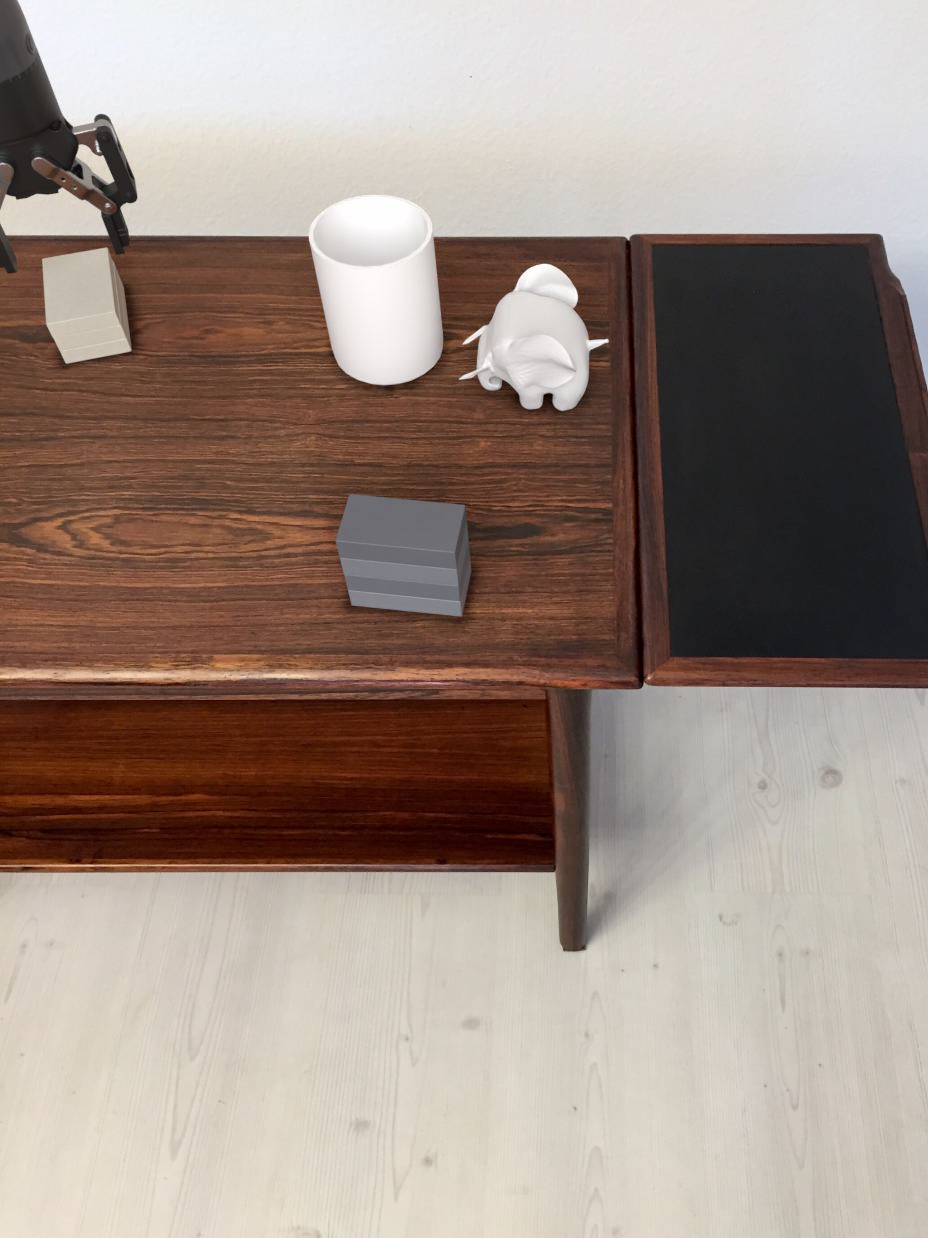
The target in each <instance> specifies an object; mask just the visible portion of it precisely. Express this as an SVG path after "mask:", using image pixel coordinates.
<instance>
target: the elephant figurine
mask: <svg viewBox="0 0 928 1238" xmlns="http://www.w3.org/2000/svg"><path fill="white" fill-rule="evenodd" d="M578 301H579V295H578V291H577V289H576V286H575V285H574V283H573V282H572V280H571V279H570V278H569V277H568V275H567V274H566V273H565V272H563V271H562V270H561V269H559V268H558V267H556V266H554V265H552V264H549V263H540V264H537V265H533V266H531V267H529V268H527V269H526V270H525V271H524V272H522V274H521V275H520V277H519V278H518V279H517V283H516V284H515V287H514V289H513V291H510V292H508V293H506V294H505V295H504V296H503V297H502V298H501V299H500V300H499V301H498V303H497V305H496V307H495V310H494V313H493V316H492V318H491V320H490V321H489V323H488V324H486V325H485V324H484V325H483V326H481V327H480V328H479V329H478V330H477V331H476V332H474V333H473V334H471V335H470V336H469V337H467V338H466V339H465V340H464V342H463V343H462V344H461V345H468V344H469V343H471V342H472V341H474V340H476V339H477V338H478V337H479V340H478V343H477V344H478V345H477V347H478V348H477V354H476V355H477V357H476V369H475V370H473V371H471V372H468V373H466V374H463V375H462V376H461V377H459V378H458V381H459V380H460V381H461V380H466V379H467V380H468V379H472V378H474V377H475V376H477V380H478V381H479V383H480V385H481V386H482V388H484V389H485V390H486V391H498V390H500V389H501V388H502V386H503V381H504V382H506V383H507V384H509V385H510V386H511V387H512V388H513V390H514V391H516V393H517V394H518V396H519V402H520V405H521V406H522V408H524V409H527V410H536V409H537V410H538V409H541V407H542V406H543V403H544V395H546V394H552V400H551V402H552V405H553V407H554V408H555V409H556V410H558V411H561V412H565V411H569V410H572V409H574V408H576V407H577V405H578V403H579V402H580V401H581V399H582V397H583V396H584V395H585V392H586V389H587V387H588V383H589V378H590V351H591V350H594V349H596V348H598V347H601V346H602V345H604V344H608V343H609V342H610V340H609V338H605V339H600V338H599V339H590V337H589V332H588V329H587V327H586V324H585V322H584V321H583V320H582V318H581V317H580V315H579V314H578V313H577V312H576V311H575V309H574V308H575V307H576V306H577V303H578Z"/></svg>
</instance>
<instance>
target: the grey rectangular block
mask: <svg viewBox="0 0 928 1238" xmlns="http://www.w3.org/2000/svg"><path fill="white" fill-rule="evenodd" d="M346 501H347V502H346V503H345V504H346V505H345V507H344V511H343V514H342V517H341V521H340V524H339V527H338V530H337V533H336V537H335V545H336V549H337V552H338V557H339V562H340V566H341V569H342V573H343V576H344V580H345V584H346V589H347V592H348V597H349V600H350V604H351V606H352V607H353V606H355V607H363V608H372V609H382V610H393V611H403V612H411V613H413V612H414V613H422V614H431V615H440V616H442V615H443V616H452V617H463V614H464V608H465V604H466V599H467V595H468V590H469V584H470V580H471V576H472V560H471V552H470V542H469V531H468V530H469V529H468V519H467V518H468V517H467V508H466V505H465V504H459V503H447V502H440V501H439V502H437V501H429V500H427V501H426V500H419V499H418V500H416V499H406V498H394V497H387V496H386V497H384V496H375V495H374V496H373V495H364V494H353V493H349V495H348V498H347V500H346Z"/></svg>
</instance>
